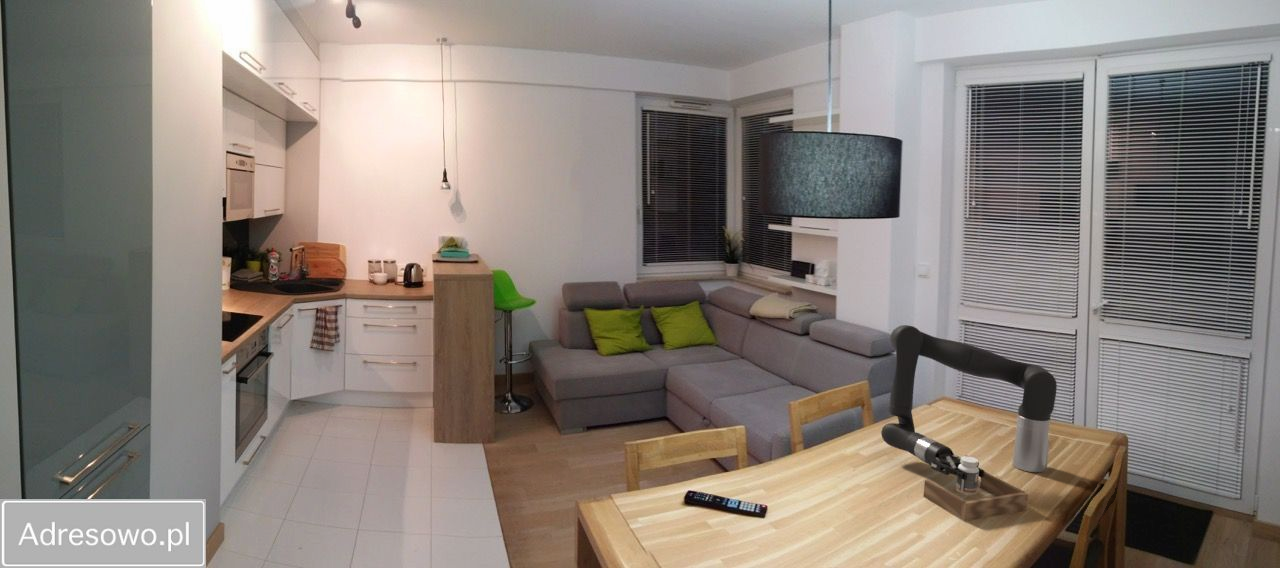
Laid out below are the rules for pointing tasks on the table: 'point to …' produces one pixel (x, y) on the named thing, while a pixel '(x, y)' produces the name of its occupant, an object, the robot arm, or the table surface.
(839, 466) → the table surface
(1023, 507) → the frame
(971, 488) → the pill bottle
